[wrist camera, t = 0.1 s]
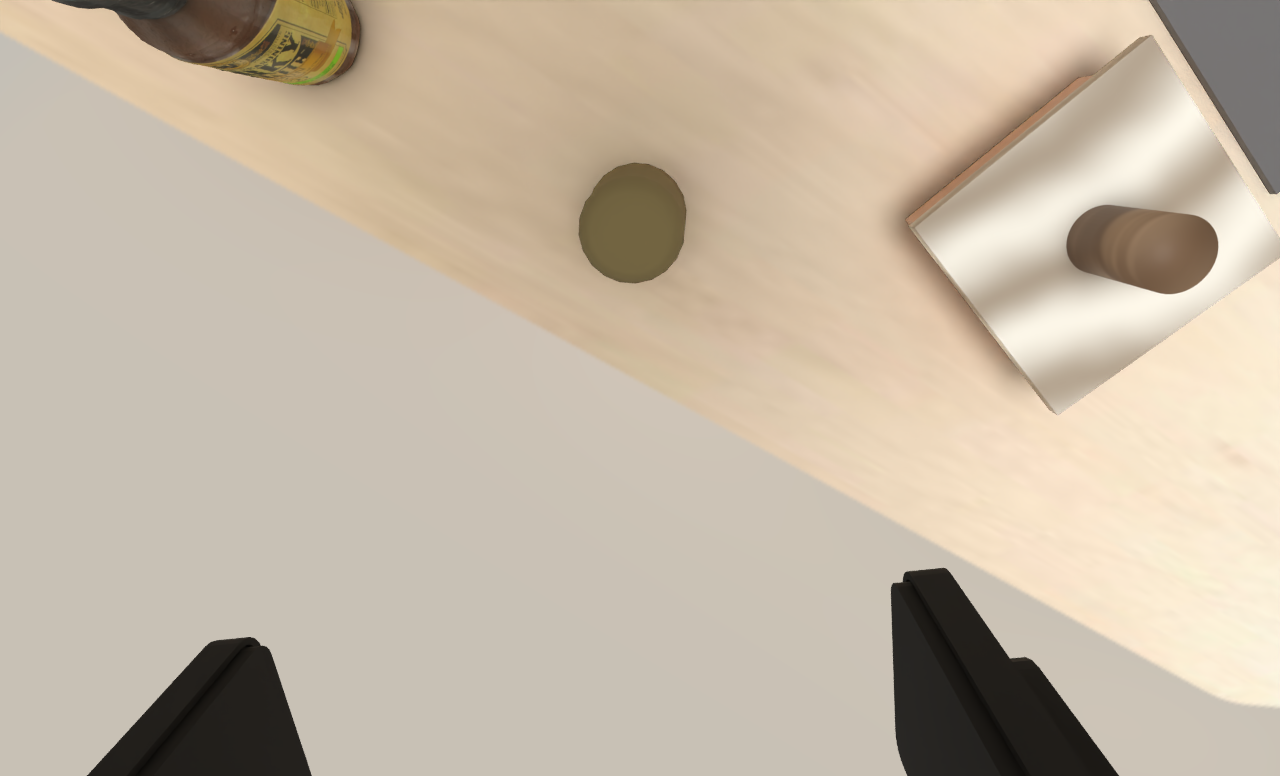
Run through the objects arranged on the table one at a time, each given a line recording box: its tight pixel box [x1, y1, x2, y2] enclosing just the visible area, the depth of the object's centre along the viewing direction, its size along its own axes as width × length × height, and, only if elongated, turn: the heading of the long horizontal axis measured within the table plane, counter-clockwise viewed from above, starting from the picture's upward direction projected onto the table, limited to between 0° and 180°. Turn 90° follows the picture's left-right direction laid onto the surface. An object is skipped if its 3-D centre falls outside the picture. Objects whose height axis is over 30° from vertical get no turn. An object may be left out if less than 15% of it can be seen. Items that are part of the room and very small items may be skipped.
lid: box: [909, 35, 1280, 415], centre depth 37 cm, size 14×14×7 cm
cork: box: [579, 163, 686, 283], centre depth 40 cm, size 6×6×11 cm
